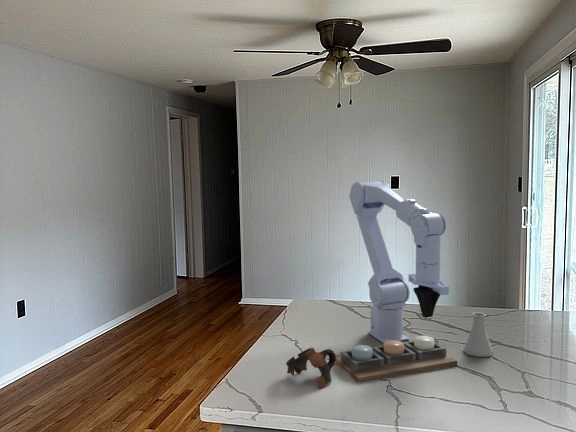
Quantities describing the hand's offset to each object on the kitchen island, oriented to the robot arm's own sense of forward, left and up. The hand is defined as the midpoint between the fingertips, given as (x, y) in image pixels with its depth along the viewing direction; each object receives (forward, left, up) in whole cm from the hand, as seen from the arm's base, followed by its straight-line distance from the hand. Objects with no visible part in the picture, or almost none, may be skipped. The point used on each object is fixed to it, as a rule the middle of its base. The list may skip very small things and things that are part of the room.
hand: (427, 316), depth 129 cm
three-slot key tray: (+1, -10, -10) cm, 14 cm away
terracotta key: (+1, -10, -9) cm, 13 cm away
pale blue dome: (+1, -19, -9) cm, 20 cm away
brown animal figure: (+2, -31, -10) cm, 33 cm away
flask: (+3, +13, -10) cm, 17 cm away
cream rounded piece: (+1, -2, -8) cm, 9 cm away
